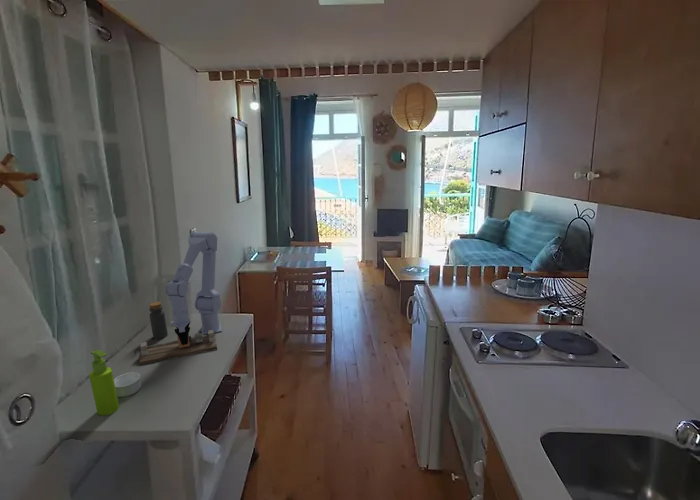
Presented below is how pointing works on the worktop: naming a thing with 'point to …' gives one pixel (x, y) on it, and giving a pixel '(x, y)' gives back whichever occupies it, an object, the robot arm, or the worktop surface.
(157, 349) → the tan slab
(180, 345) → the sleeve
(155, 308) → the bottle
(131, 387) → the ramekin
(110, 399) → the soap dispenser
